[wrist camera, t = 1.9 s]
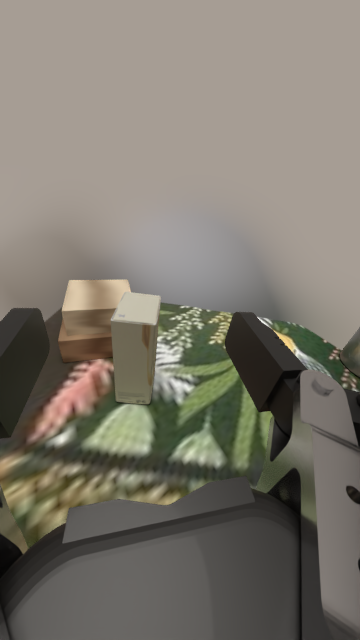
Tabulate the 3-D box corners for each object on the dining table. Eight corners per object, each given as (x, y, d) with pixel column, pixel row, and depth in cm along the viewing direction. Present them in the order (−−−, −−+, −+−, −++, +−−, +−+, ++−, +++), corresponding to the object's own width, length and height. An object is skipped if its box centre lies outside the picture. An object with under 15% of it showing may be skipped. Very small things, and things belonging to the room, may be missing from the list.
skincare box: (150, 405, 26) (156, 326, 19) (114, 403, 25) (108, 321, 19) (155, 366, 31) (162, 293, 24) (126, 364, 31) (124, 289, 24)
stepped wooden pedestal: (132, 314, 41) (132, 277, 37) (141, 353, 33) (143, 310, 28) (71, 318, 38) (63, 277, 33) (63, 363, 29) (51, 316, 25)
